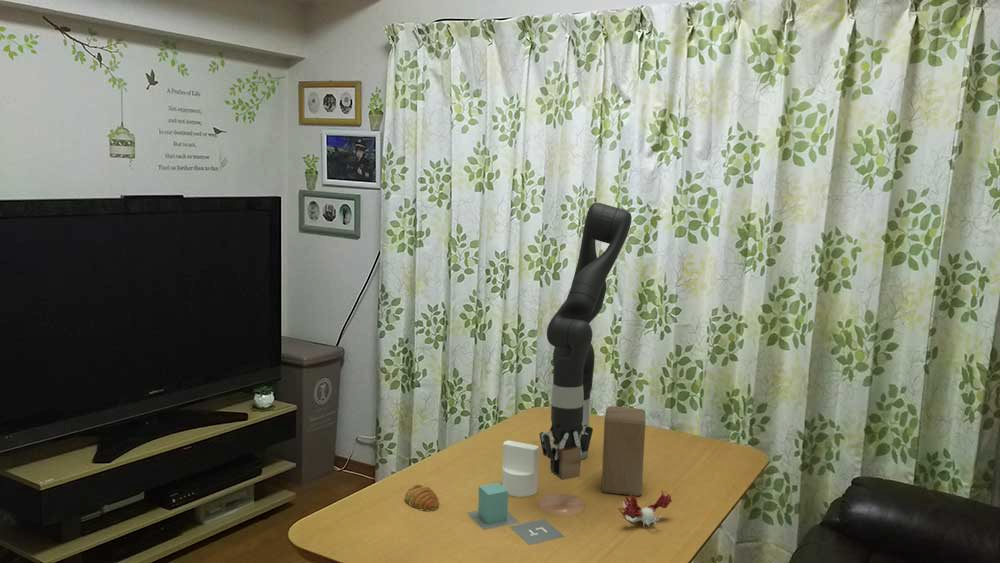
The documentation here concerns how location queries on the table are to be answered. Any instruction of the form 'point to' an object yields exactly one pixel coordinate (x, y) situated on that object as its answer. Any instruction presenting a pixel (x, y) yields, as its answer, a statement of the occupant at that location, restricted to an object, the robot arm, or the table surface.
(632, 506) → the figurine
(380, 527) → the table surface
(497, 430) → the table surface
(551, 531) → the code tile
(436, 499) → the pastry
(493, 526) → the code tile
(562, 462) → the walnut block
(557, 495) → the pink round disc
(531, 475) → the cylinder with rectangular tab
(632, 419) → the block
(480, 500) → the teal block
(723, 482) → the table surface
